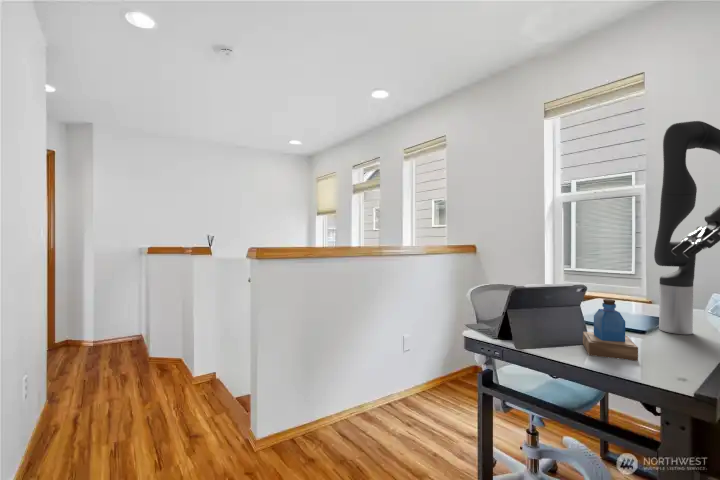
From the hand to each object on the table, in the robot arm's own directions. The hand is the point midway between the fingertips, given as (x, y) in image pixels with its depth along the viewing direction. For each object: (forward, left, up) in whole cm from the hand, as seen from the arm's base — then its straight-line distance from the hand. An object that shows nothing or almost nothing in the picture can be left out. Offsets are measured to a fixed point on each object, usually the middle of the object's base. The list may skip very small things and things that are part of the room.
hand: (679, 254), depth 102 cm
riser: (+2, -18, -31) cm, 35 cm away
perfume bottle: (+2, -18, -27) cm, 32 cm away
